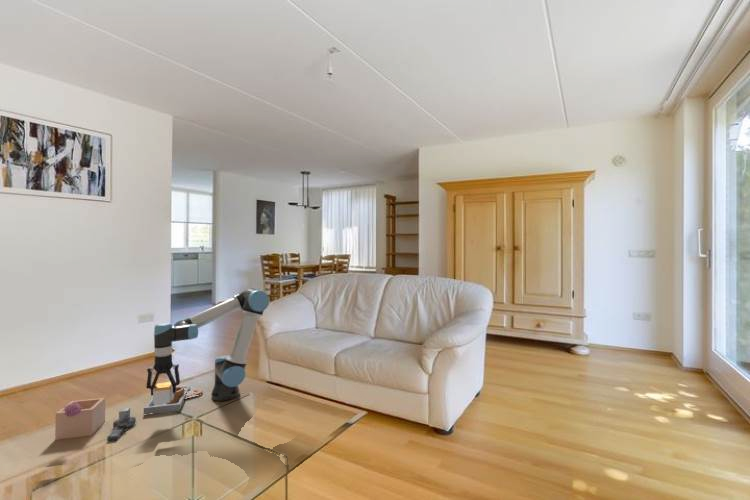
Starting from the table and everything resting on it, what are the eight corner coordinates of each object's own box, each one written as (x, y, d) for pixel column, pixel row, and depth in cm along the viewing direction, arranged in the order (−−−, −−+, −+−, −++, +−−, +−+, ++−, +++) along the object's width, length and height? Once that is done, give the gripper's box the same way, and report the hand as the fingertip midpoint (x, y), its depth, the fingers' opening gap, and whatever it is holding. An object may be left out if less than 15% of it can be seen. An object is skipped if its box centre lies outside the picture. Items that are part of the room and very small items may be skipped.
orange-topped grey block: (173, 397, 181) (173, 381, 181) (169, 402, 174) (169, 386, 174) (157, 399, 179) (157, 383, 179) (153, 404, 172) (153, 388, 172)
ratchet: (138, 420, 179) (138, 404, 179) (124, 439, 161) (124, 421, 161) (117, 423, 176) (117, 406, 176) (100, 442, 158) (100, 424, 158)
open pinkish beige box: (105, 421, 177) (105, 397, 178) (92, 435, 164) (92, 409, 164) (71, 425, 173) (71, 401, 173) (55, 439, 160) (55, 413, 160)
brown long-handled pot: (168, 406, 196) (168, 394, 196) (166, 401, 203) (166, 389, 202) (204, 396, 207) (203, 385, 207) (201, 392, 213) (200, 380, 213)
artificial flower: (86, 423, 172) (74, 418, 153) (70, 419, 170) (56, 414, 151) (95, 409, 176) (84, 402, 156) (80, 405, 174) (67, 398, 155)
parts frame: (190, 392, 215) (190, 386, 215) (180, 411, 189) (180, 404, 189) (158, 395, 210) (158, 389, 210) (143, 415, 184) (143, 408, 184)
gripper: (186, 350, 183) (187, 394, 183) (142, 354, 177) (143, 400, 177) (183, 354, 176) (184, 400, 176) (137, 358, 170) (138, 406, 170)
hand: (163, 400), depth 177 cm, fingers closed on orange-topped grey block, 7 cm apart
